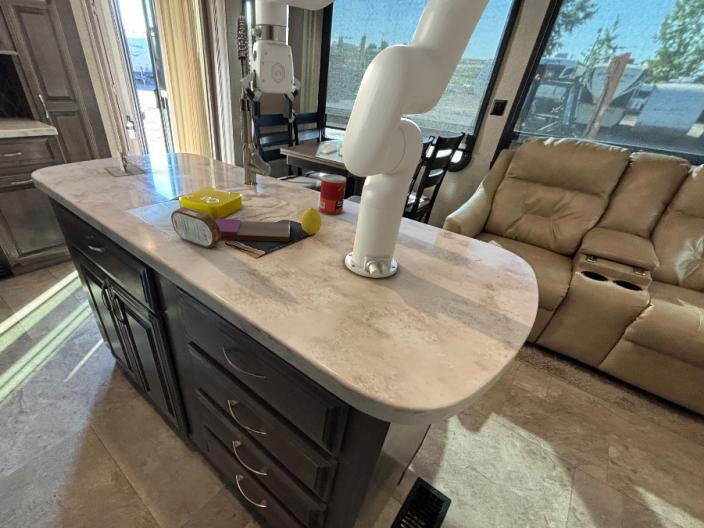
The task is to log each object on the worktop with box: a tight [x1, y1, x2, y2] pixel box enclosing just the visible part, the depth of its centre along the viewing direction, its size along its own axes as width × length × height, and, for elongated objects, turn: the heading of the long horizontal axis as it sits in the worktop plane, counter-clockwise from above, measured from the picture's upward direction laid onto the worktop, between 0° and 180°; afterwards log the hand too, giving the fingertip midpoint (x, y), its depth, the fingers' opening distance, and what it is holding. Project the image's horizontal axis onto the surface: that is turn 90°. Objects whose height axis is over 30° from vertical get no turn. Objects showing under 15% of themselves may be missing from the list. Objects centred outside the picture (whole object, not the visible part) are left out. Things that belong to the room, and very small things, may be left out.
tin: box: [170, 207, 222, 249], centre depth 83 cm, size 15×3×8 cm, turn 59°
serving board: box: [215, 220, 290, 243], centre depth 92 cm, size 10×22×2 cm, turn 92°
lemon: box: [300, 207, 322, 236], centre depth 91 cm, size 6×6×8 cm
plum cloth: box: [216, 218, 242, 234], centre depth 91 cm, size 9×7×1 cm
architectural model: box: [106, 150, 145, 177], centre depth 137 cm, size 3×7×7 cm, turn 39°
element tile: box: [178, 186, 243, 220], centre depth 105 cm, size 15×15×5 cm
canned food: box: [318, 173, 347, 216], centre depth 108 cm, size 8×8×11 cm
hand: (272, 118), depth 87 cm, fingers open, 9 cm apart
